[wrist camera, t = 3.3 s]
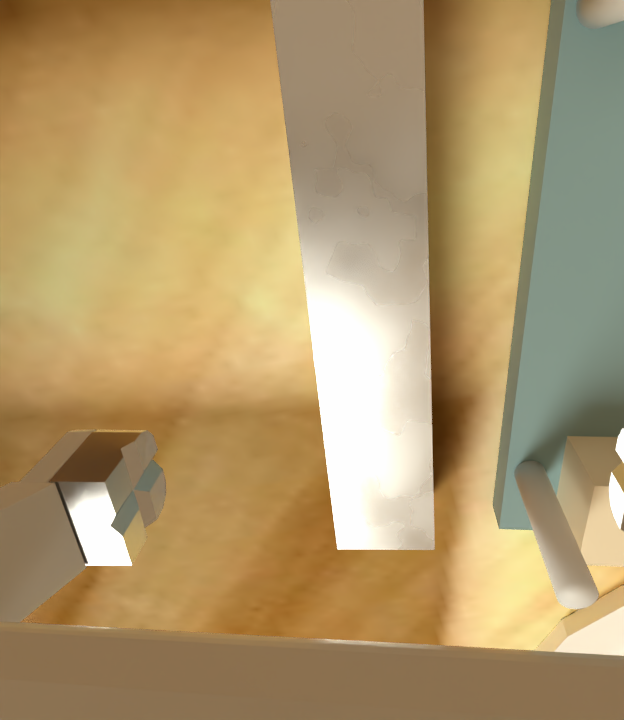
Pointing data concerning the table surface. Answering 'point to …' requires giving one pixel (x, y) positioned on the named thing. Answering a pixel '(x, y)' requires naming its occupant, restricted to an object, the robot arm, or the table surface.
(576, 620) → the dish
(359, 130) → the long grey flat plank
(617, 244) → the rack
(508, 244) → the table surface
